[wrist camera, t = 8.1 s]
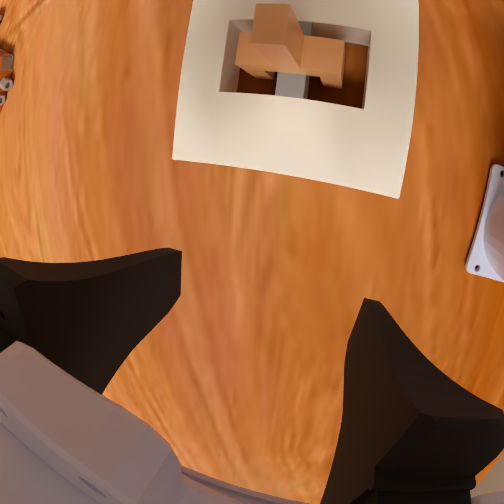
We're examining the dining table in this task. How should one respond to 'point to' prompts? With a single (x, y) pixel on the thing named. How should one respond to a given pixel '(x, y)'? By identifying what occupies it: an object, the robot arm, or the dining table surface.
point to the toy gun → (5, 72)
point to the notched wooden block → (288, 48)
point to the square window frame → (302, 96)
